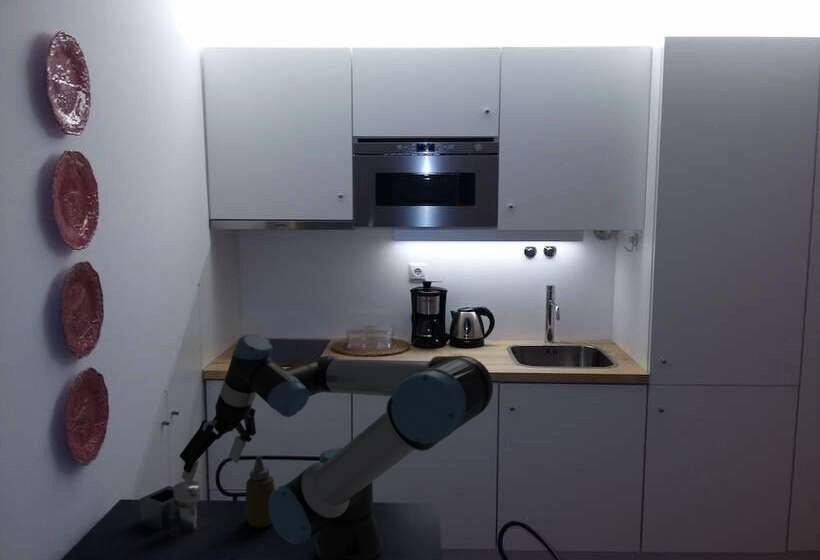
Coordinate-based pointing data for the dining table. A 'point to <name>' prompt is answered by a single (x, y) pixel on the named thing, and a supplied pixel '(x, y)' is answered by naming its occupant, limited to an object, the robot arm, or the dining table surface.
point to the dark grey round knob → (187, 503)
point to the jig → (165, 513)
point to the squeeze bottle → (258, 495)
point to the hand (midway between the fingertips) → (210, 469)
